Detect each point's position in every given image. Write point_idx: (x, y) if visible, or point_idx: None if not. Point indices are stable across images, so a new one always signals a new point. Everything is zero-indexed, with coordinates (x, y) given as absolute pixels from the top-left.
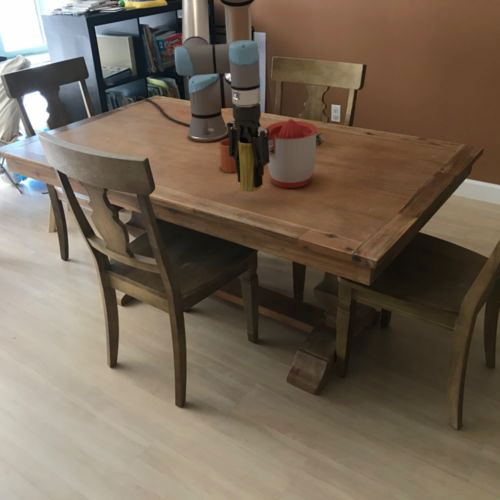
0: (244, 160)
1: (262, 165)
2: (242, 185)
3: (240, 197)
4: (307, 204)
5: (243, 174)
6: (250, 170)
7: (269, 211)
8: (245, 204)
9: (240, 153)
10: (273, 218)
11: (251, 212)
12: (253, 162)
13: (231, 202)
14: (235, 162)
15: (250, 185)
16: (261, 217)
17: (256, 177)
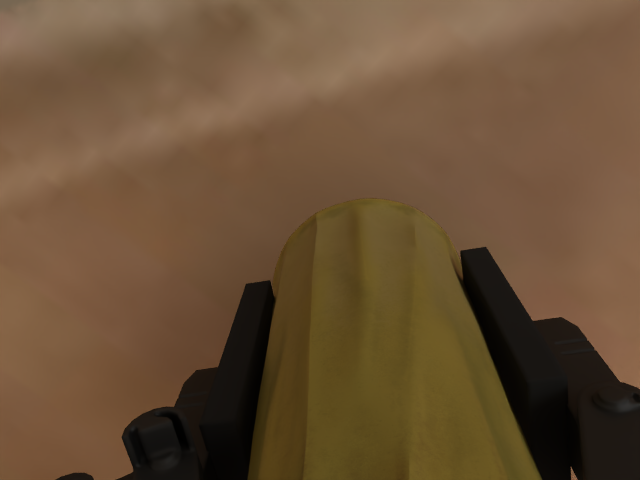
0: (334, 403)
1: (69, 476)
2: (369, 219)
3: (463, 217)
4: (74, 442)
5: (354, 277)
6: (281, 357)
7: (137, 226)
8: (343, 172)
9: (446, 475)
10: (32, 179)
11: (206, 123)
12: (250, 464)
13: (450, 114)
14: (603, 368)
15: (293, 262)
16: (93, 127)
17: (229, 343)
